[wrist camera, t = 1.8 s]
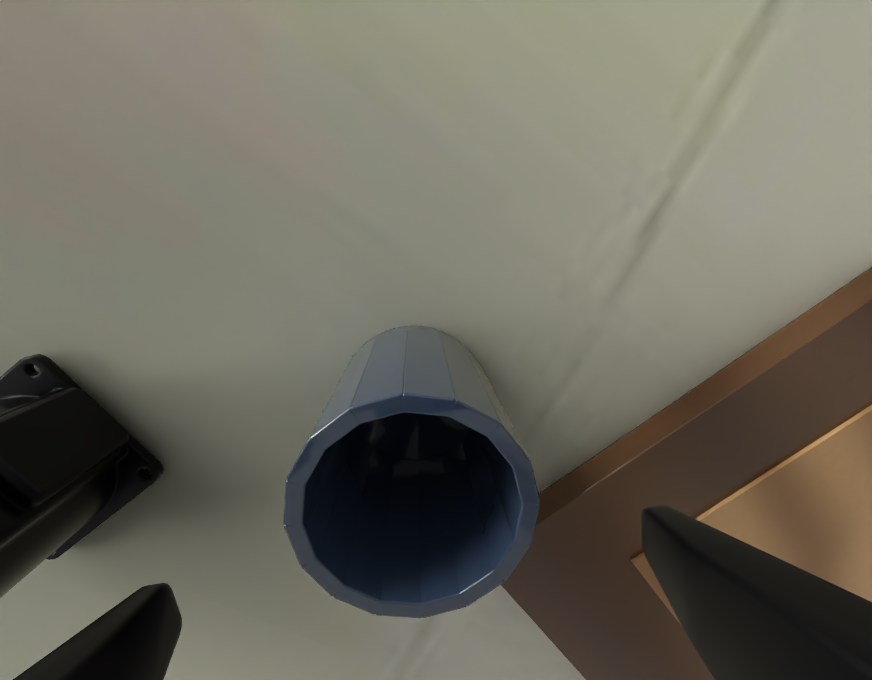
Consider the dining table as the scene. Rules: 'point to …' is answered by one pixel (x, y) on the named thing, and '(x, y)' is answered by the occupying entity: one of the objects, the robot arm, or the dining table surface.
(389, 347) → the cup
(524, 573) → the desk board
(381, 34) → the dining table surface
